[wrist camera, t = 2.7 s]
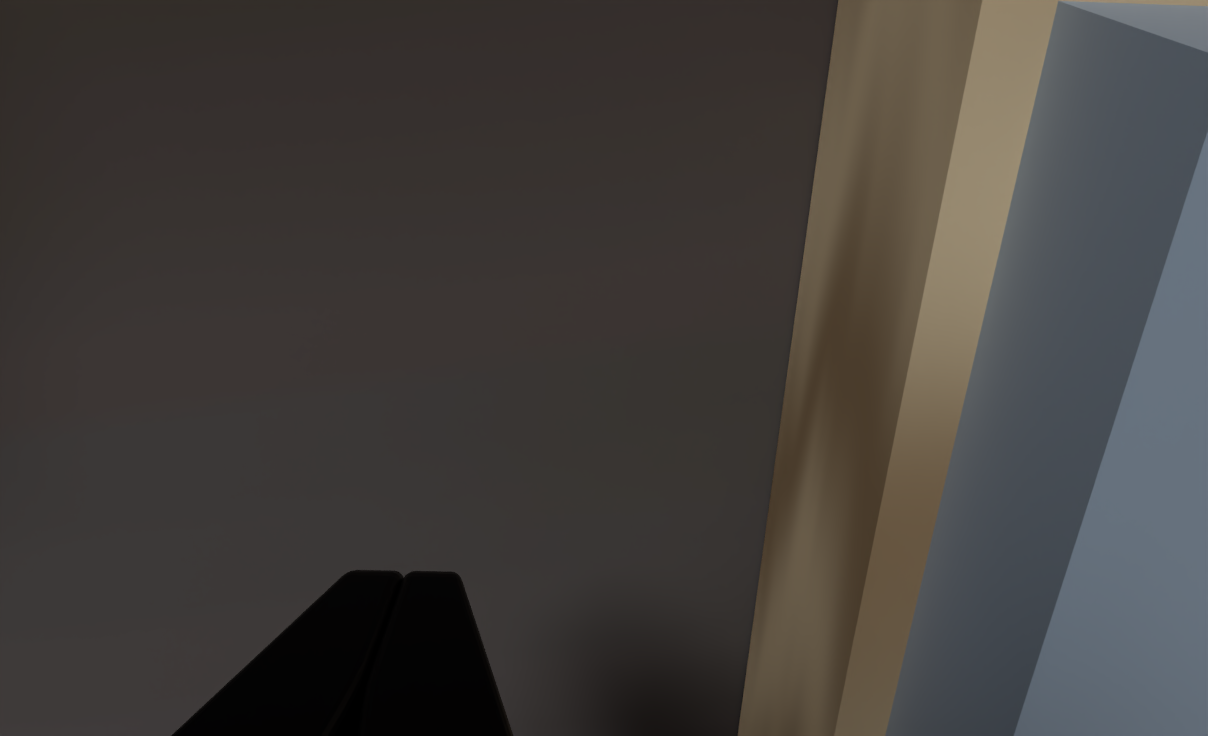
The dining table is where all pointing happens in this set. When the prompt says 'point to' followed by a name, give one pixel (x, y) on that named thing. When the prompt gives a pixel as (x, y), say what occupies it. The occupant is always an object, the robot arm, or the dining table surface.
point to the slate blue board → (1084, 414)
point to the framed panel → (885, 342)
